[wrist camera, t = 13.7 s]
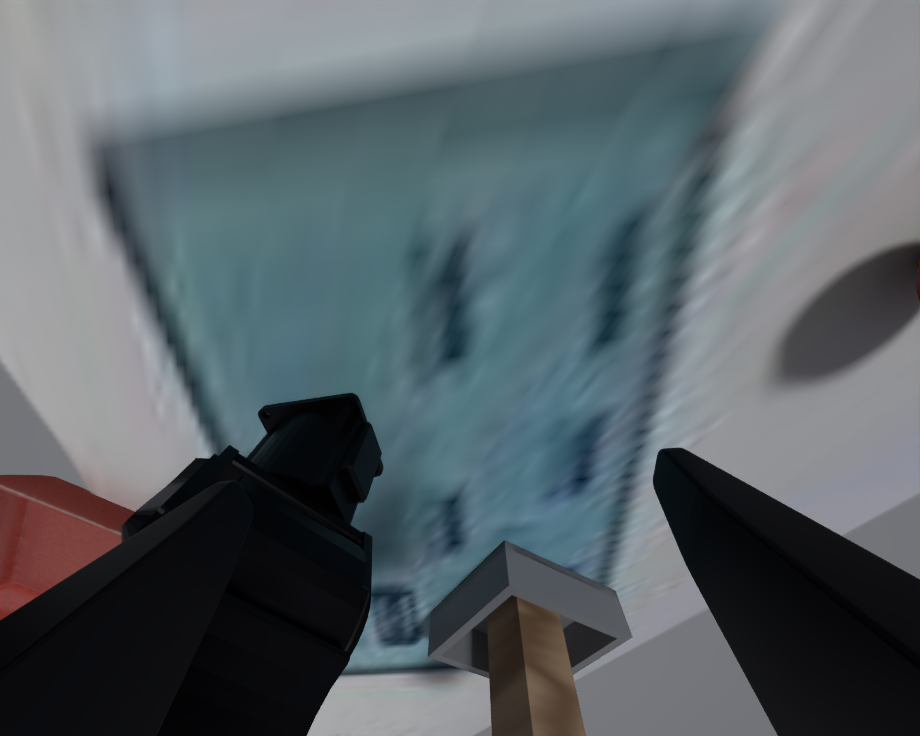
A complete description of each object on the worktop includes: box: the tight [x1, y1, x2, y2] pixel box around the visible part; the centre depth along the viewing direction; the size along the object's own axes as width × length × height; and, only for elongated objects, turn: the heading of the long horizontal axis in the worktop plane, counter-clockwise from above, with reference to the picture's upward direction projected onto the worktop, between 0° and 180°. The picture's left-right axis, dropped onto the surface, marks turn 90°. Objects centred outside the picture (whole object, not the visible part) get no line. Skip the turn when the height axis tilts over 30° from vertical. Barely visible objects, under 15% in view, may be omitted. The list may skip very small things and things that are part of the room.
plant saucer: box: [0, 475, 135, 620], centre depth 29 cm, size 18×18×3 cm
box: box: [428, 541, 632, 678], centre depth 29 cm, size 12×12×4 cm
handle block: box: [487, 595, 586, 736], centre depth 25 cm, size 4×4×12 cm
